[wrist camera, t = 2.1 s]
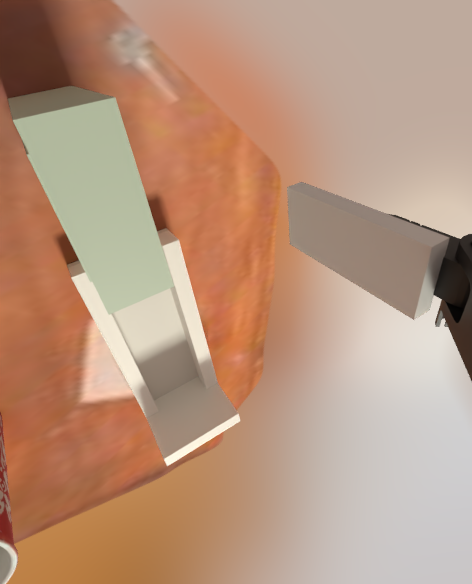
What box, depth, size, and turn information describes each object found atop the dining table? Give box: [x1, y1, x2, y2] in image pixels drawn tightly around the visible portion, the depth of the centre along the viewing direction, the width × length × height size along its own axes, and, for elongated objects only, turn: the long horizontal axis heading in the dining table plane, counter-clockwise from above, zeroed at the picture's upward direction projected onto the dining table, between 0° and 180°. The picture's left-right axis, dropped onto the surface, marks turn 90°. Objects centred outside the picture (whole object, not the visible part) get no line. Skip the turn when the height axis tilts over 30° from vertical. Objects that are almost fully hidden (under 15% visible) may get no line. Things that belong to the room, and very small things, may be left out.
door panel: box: [8, 86, 174, 315], centre depth 21 cm, size 10×4×12 cm, turn 9°
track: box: [67, 228, 240, 466], centre depth 33 cm, size 22×9×8 cm, turn 9°
